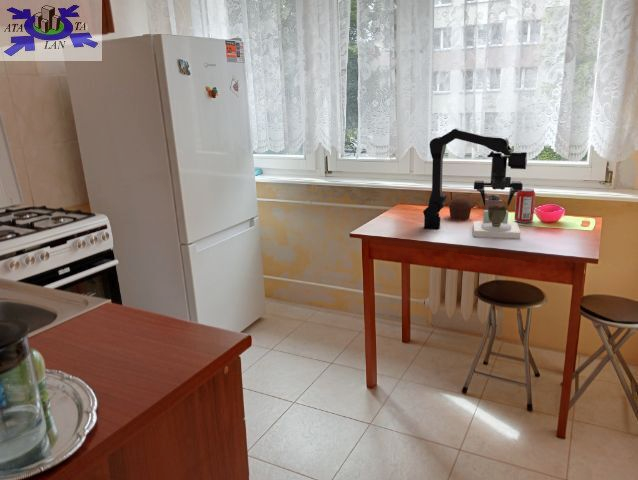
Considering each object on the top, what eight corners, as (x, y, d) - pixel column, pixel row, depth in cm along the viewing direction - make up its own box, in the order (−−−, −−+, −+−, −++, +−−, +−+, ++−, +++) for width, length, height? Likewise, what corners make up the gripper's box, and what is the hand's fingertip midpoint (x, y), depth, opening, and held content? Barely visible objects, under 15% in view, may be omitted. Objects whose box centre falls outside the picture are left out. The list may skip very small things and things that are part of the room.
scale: (473, 236, 203) (474, 218, 201) (473, 226, 218) (474, 209, 215) (520, 238, 198) (521, 220, 196) (516, 228, 213) (517, 211, 210)
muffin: (475, 220, 227) (476, 199, 224) (451, 221, 227) (452, 200, 225) (468, 214, 239) (469, 194, 236) (445, 215, 239) (446, 195, 236)
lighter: (501, 214, 235) (503, 194, 233) (500, 216, 233) (501, 195, 230) (484, 213, 240) (485, 193, 237) (482, 214, 237) (484, 194, 234)
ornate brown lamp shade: (506, 228, 201) (508, 209, 199) (488, 228, 203) (489, 209, 200) (503, 223, 208) (505, 205, 206) (485, 223, 210) (486, 205, 207)
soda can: (523, 224, 217) (526, 191, 213) (510, 220, 224) (512, 188, 220) (536, 222, 220) (539, 189, 216) (523, 218, 227) (525, 186, 223)
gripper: (475, 171, 194) (473, 209, 199) (525, 171, 189) (522, 210, 193) (474, 167, 204) (472, 203, 209) (522, 167, 199) (519, 204, 204)
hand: (496, 205), depth 203 cm, fingers open, 9 cm apart
